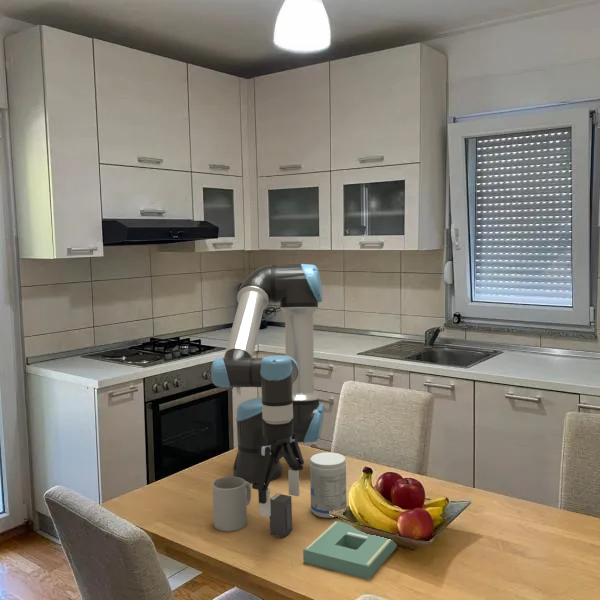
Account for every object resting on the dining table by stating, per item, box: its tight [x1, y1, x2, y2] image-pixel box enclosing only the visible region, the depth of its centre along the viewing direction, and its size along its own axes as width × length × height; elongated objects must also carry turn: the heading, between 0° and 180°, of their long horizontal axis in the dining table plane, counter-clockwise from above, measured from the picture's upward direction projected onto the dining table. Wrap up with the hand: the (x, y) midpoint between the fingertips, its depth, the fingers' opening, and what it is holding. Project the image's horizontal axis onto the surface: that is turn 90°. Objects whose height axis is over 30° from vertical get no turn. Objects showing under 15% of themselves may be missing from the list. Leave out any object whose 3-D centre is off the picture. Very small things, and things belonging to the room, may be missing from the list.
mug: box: [211, 476, 252, 532], centre depth 163 cm, size 12×8×11 cm
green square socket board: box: [302, 520, 398, 581], centre depth 145 cm, size 16×16×3 cm
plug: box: [269, 493, 293, 539], centre depth 156 cm, size 4×4×9 cm
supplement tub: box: [309, 451, 347, 519], centre depth 167 cm, size 10×10×15 cm
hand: (280, 504), depth 155 cm, fingers open, 13 cm apart
